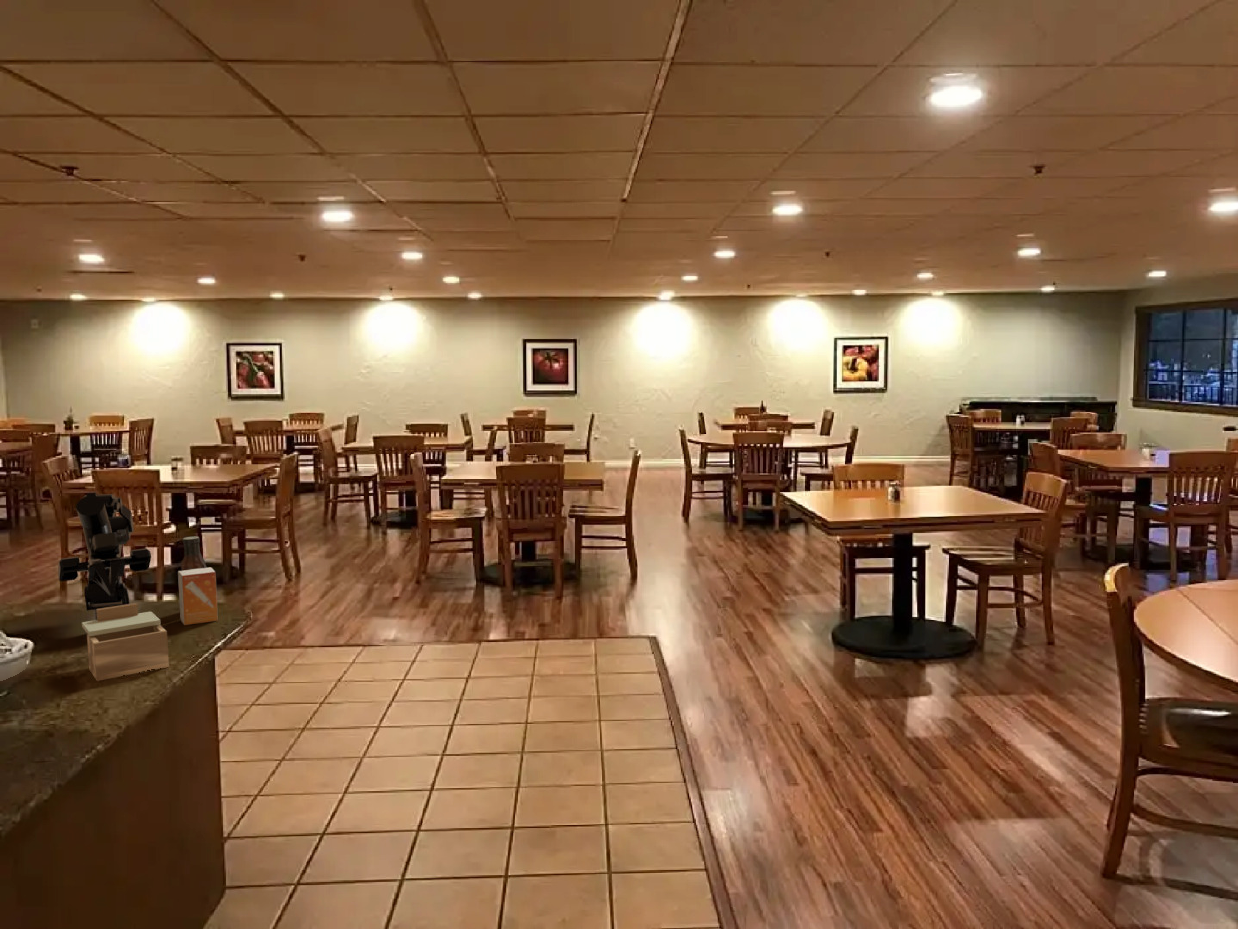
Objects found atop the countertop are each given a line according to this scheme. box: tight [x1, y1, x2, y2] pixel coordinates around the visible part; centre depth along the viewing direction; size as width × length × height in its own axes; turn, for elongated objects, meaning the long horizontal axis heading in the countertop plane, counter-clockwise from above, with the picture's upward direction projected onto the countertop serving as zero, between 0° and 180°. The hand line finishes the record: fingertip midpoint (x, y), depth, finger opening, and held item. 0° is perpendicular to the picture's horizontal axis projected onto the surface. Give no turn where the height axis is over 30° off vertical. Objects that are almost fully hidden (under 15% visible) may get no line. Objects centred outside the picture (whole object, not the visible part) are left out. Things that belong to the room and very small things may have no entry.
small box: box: [177, 567, 219, 626], centre depth 240 cm, size 8×6×13 cm
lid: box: [81, 602, 161, 636], centre depth 208 cm, size 9×14×4 cm, turn 128°
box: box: [86, 624, 170, 682], centre depth 204 cm, size 9×14×8 cm, turn 128°
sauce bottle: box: [180, 536, 208, 571], centre depth 249 cm, size 6×6×20 cm
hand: (112, 594), depth 214 cm, fingers closed
